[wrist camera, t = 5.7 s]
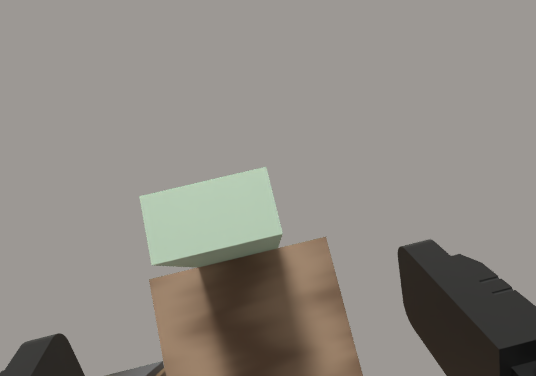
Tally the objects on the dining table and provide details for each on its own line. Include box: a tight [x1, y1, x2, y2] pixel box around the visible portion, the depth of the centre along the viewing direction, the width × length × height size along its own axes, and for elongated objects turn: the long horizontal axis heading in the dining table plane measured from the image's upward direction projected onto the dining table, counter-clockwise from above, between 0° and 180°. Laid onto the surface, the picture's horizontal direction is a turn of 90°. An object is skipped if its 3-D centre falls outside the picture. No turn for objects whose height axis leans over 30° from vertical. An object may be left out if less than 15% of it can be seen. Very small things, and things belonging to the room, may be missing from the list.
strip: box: [140, 167, 283, 268], centre depth 26 cm, size 4×24×2 cm, turn 0°
